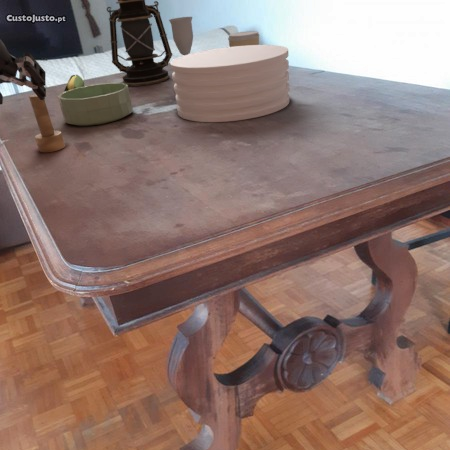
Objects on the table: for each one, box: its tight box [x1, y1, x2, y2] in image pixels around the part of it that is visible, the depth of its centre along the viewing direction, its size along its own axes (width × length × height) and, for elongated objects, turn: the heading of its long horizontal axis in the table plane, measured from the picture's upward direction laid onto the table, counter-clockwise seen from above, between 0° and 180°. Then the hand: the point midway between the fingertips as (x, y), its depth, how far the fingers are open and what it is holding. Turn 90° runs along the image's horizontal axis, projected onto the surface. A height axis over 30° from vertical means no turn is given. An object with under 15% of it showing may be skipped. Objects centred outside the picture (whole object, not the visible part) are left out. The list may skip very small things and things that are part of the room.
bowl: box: [57, 82, 134, 127], centre depth 122 cm, size 18×18×6 cm
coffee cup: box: [227, 30, 260, 47], centre depth 143 cm, size 9×9×12 cm
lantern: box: [106, 0, 174, 87], centre depth 151 cm, size 20×16×30 cm
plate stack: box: [169, 44, 290, 123], centre depth 115 cm, size 28×28×12 cm
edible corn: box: [63, 74, 86, 92], centre depth 152 cm, size 5×20×5 cm, turn 8°
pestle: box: [28, 93, 66, 153], centre depth 101 cm, size 6×6×11 cm
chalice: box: [168, 16, 194, 56], centre depth 139 cm, size 7×7×18 cm
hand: (21, 98), depth 92 cm, fingers open, 8 cm apart
